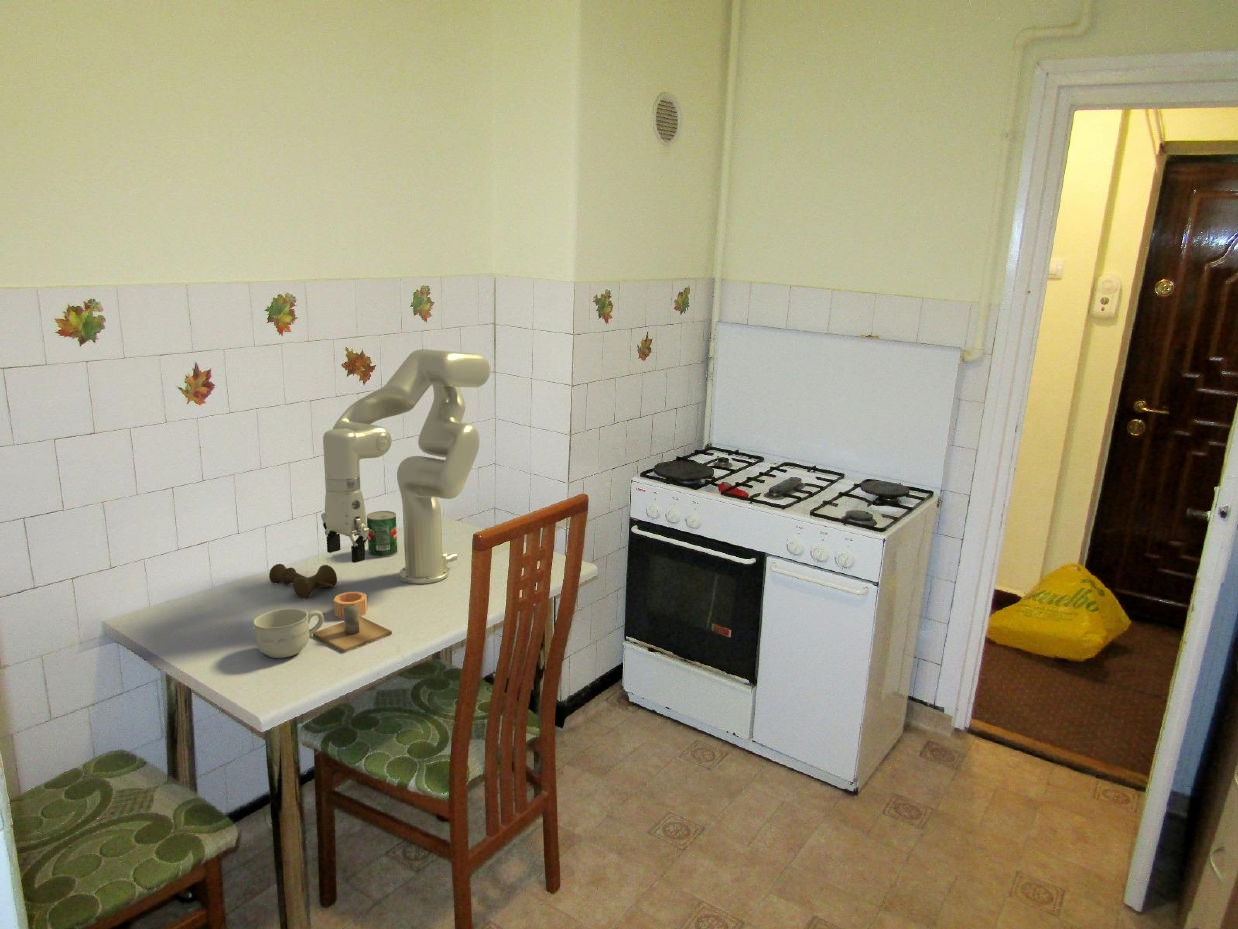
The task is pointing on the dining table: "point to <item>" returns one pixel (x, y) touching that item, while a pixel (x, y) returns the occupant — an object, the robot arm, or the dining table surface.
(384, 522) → the canned tomato
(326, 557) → the dining table surface
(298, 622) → the teacup
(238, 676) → the dining table surface
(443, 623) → the dining table surface
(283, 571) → the kendama
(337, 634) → the post plate
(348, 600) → the ring
